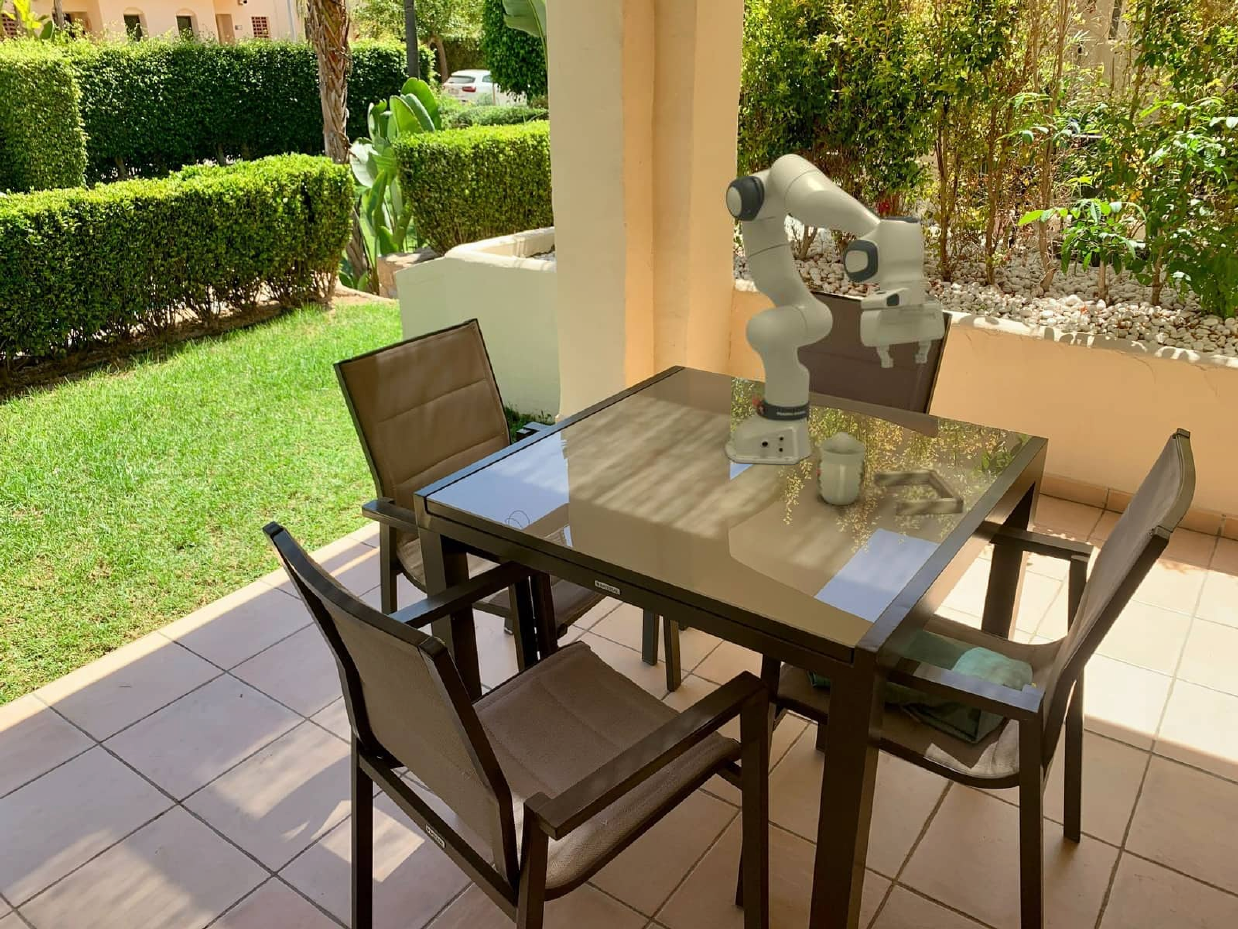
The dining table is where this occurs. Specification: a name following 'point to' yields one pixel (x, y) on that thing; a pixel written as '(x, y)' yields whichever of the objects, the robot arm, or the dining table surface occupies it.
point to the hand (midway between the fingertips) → (904, 365)
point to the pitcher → (840, 468)
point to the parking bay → (922, 506)
